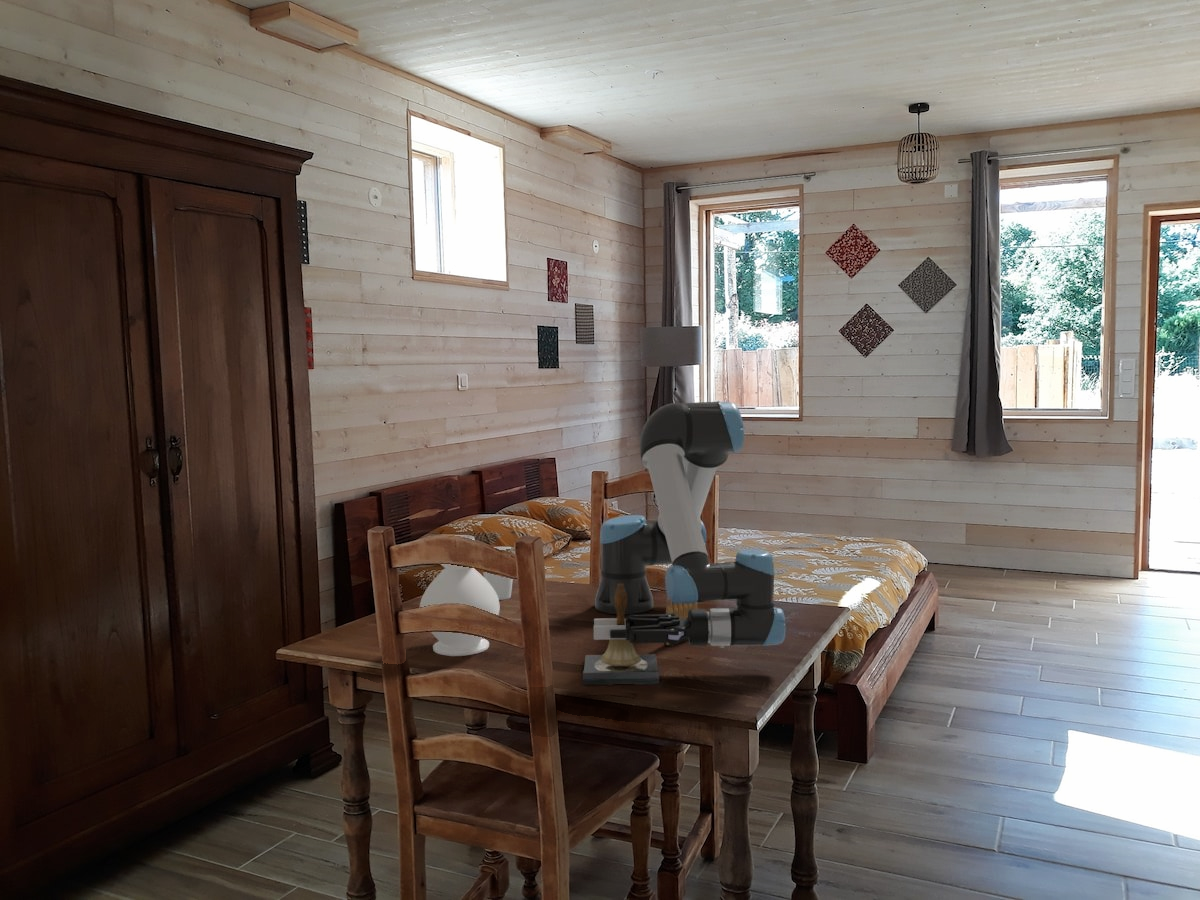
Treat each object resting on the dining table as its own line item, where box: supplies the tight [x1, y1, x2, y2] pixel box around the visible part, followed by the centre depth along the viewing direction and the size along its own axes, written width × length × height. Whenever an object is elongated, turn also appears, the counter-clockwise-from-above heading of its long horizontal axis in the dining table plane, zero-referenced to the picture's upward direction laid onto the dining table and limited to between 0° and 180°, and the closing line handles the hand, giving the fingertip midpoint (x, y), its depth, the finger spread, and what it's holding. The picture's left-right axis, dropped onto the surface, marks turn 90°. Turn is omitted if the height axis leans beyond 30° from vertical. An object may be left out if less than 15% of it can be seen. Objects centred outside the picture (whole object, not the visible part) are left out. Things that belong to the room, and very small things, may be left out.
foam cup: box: [482, 546, 514, 601], centre depth 253 cm, size 10×9×13 cm
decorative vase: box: [419, 534, 501, 657], centre depth 208 cm, size 18×18×25 cm
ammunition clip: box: [663, 595, 698, 647], centre depth 211 cm, size 11×2×12 cm, turn 136°
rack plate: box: [582, 653, 660, 686], centre depth 191 cm, size 15×15×2 cm
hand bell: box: [601, 583, 641, 666], centre depth 190 cm, size 8×8×16 cm
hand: (594, 629), depth 191 cm, fingers closed on hand bell, 4 cm apart
